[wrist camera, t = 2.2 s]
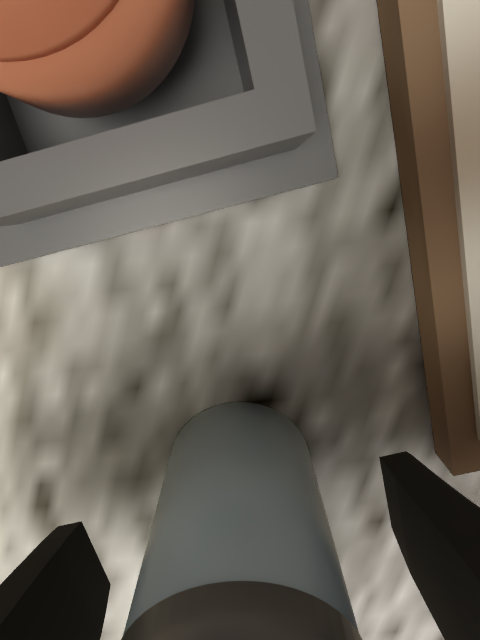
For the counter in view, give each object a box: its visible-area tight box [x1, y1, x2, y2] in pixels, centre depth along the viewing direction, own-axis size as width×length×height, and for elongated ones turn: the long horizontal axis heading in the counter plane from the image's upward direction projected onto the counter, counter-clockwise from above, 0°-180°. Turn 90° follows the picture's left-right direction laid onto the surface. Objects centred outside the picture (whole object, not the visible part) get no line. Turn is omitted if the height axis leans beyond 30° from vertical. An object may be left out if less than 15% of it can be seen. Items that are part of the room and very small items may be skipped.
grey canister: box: [121, 402, 362, 640], centre depth 8 cm, size 4×4×7 cm
